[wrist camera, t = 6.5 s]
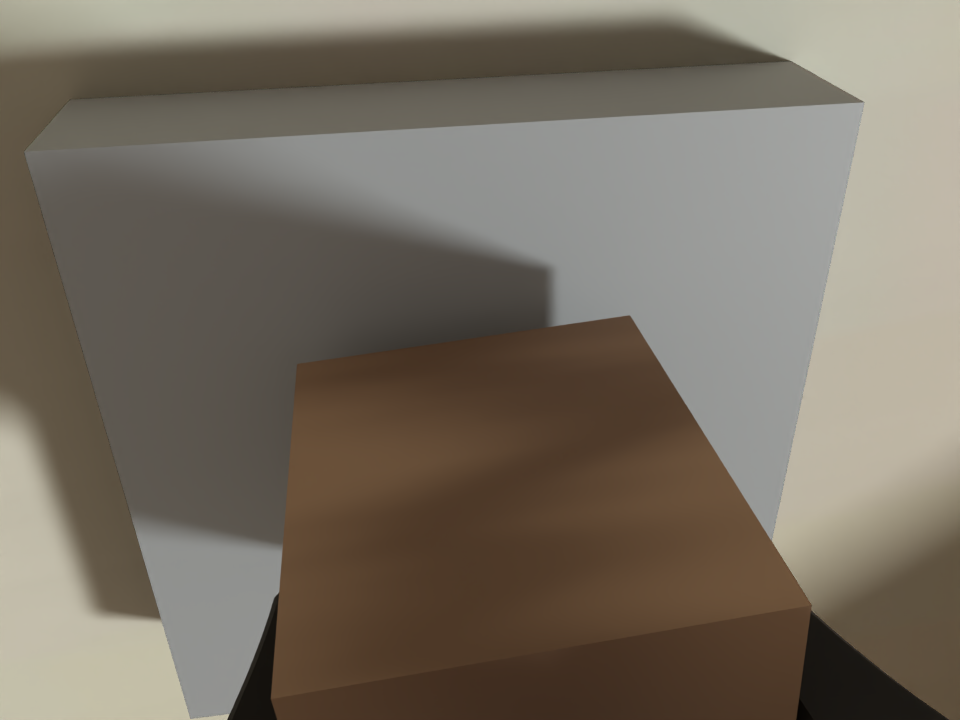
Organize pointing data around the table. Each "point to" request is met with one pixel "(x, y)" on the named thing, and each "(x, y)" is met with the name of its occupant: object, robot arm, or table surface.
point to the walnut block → (523, 543)
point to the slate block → (421, 275)
